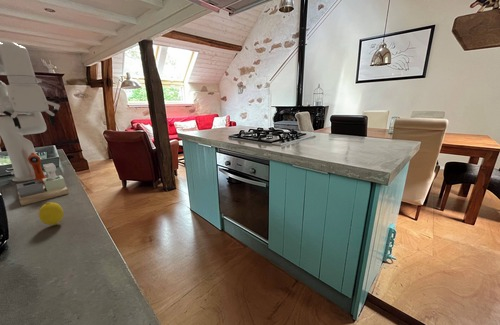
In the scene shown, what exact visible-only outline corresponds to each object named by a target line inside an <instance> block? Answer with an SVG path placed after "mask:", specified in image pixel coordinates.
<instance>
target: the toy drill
mask: <svg viewBox="0 0 500 325" xmlns="http://www.w3.org/2000/svg"><path fill="white" fill-rule="evenodd" d="M28 161H29V163H30V164H31V165H32V167H33V169H34V172H35V177H36V178H35V179H34V180H39V179H40V180H41V182H42V185H44V183H43V180H42V179H45V178H48V177H47V175H44V173H43V172H44V171H43V169H42V164H41V163H42V160H41V157H40V156H39V155H38V154H34V153H31V155H30V156H29V157H28Z"/></svg>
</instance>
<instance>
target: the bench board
mask: <svg viewBox="0 0 500 325" xmlns="http://www.w3.org/2000/svg"><path fill="white" fill-rule="evenodd" d="M43 188H44V191H45V192H44V193H40V194H35V195H31V196H27V197H23V198H21V197H20V195H19V192H18V191H17V193H18V199H19V202H20V205H21V206H26V205H31V204H34V203H38V202H40V201H41V202H42V201H44V200H49V199H53V198H56V197H61V196H63V195H64V196H65V195H68V194H70V192H69V189H68V187H67V186H66V187H63V188H59V189H55V190H51V191H47V190H46V188H45V186H44V185H43Z"/></svg>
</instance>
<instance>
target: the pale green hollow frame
mask: <svg viewBox="0 0 500 325" xmlns="http://www.w3.org/2000/svg"><path fill="white" fill-rule="evenodd" d="M56 177H57V179H55V180H51V181H50V180H49V177H47V178H45V179H42V180H43V186H45V188H46V190H47V191H51V190H55V189H59V188H63V187H66V188H67V185H66V182H65V178H64V177H63V175H61V174H60V175H56Z"/></svg>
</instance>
